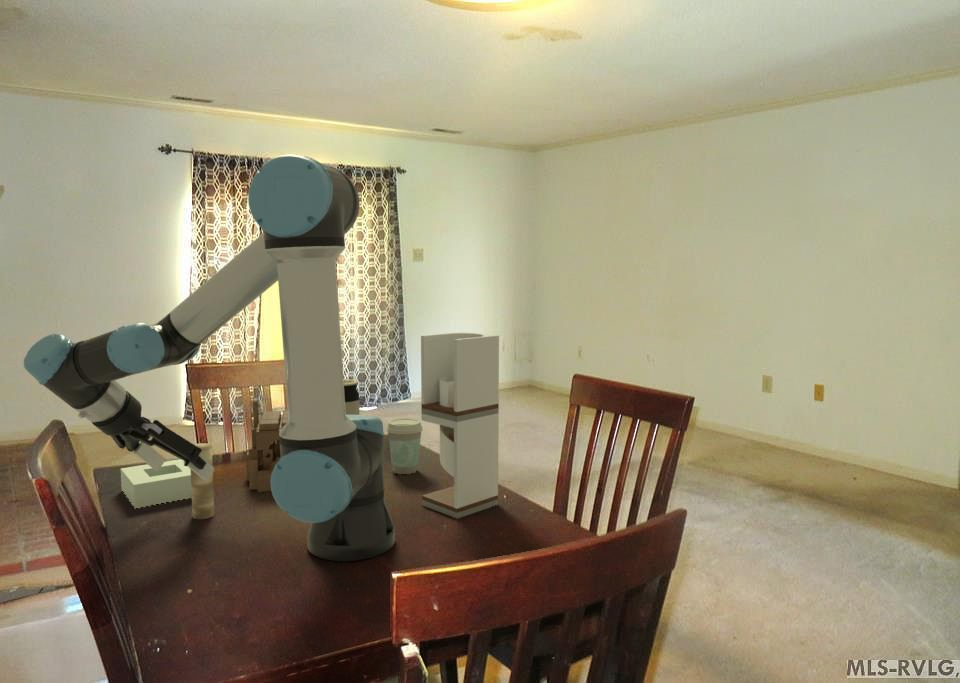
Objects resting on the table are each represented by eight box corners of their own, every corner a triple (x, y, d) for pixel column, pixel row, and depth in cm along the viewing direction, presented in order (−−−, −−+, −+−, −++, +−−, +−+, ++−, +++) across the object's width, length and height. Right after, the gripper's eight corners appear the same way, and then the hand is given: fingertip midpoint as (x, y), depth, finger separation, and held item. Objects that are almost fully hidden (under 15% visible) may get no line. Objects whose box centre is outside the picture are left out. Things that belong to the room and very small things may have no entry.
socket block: (206, 495, 149) (205, 472, 148) (135, 509, 140) (133, 484, 140) (189, 479, 160) (188, 457, 159) (121, 490, 151) (120, 468, 151)
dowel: (218, 514, 138) (216, 444, 136) (202, 520, 134) (199, 449, 133) (204, 510, 139) (201, 442, 138) (188, 517, 136) (184, 447, 134)
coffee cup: (379, 472, 165) (378, 422, 164) (403, 464, 172) (402, 416, 171) (406, 478, 161) (406, 427, 159) (430, 469, 168) (429, 420, 166)
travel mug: (365, 448, 187) (363, 382, 185) (337, 453, 182) (335, 385, 180) (352, 442, 193) (351, 378, 191) (325, 446, 188) (323, 381, 186)
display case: (462, 492, 151) (462, 331, 147) (498, 504, 143) (498, 335, 140) (422, 505, 143) (420, 335, 139) (457, 518, 135) (457, 339, 132)
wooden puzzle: (312, 489, 154) (310, 405, 152) (243, 494, 150) (240, 409, 148) (312, 461, 175) (310, 388, 173) (251, 465, 171) (249, 390, 169)
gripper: (49, 416, 123) (130, 477, 137) (144, 432, 111) (220, 497, 126) (77, 382, 127) (152, 445, 142) (171, 394, 115) (242, 461, 130)
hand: (185, 469), depth 134 cm, fingers open, 13 cm apart
